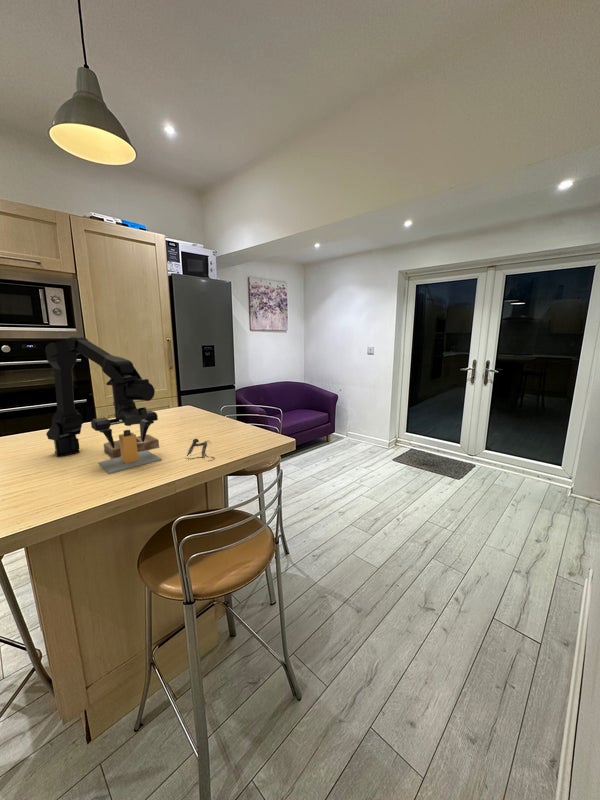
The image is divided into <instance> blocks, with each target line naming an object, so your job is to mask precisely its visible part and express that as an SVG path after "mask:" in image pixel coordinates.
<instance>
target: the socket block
mask: <svg viewBox="0 0 600 800" xmlns="http://www.w3.org/2000/svg"><path fill="white" fill-rule="evenodd" d="M113 441H114V448H112V447H111V445H110V443H109V442H105V443H103V448H104V449H103V450H104V452H105V453H106V454H107V453H108V454H109V455H108V454H107V455H108V456H110V457H111V459H114V458H115V457H116V458H118V457H119V456H120V457H121V450H120V442H119V439H118V440H113ZM136 441H137V451H138V453H139V452H140V451H141V452H143V451H144V450H145V451H147V450H148V451H149V450H152V449H153V448H154V449H157V447H158V448H160V441H159V439H158V438H156V437H154V436H152V435H150V434H147V433H146V436H145V440H144V442H142V440H141V435H139V436H136Z"/></svg>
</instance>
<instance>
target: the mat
mask: <svg viewBox="0 0 600 800" xmlns="http://www.w3.org/2000/svg"><path fill="white" fill-rule="evenodd" d="M159 461H162V458H161V457H159V456H158V455H156V454H155V453H153V452H151V451H149V450H145V451H141V452H138V461H134V462H131V463H127V464H125V463H124V462H123V461H122V459H121V456H120V457H116V458H110V459H105V460H102V461H98V463H97V464H98V465H99V466H101V468H102V469H104V470H105V472H107V474H108V475H111V473H112V474H115V473H119V472H122V470H123V471H127V470H130V469H134V468H137V466H138V467H141V465H142V466H146V465H148V463H149V464H152V462H153V463H156V462H159ZM133 467H134V468H133ZM126 469H127V470H126Z"/></svg>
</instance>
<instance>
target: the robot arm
mask: <svg viewBox="0 0 600 800" xmlns="http://www.w3.org/2000/svg"><path fill="white" fill-rule="evenodd" d="M44 351H45V357H46V360H47V362H48V364H49V365H50V366H51V368H53V374H54V383H55V384H54V385H55V386H54V388H55V398H56V411H55V413H53V416H52V418H51V425H50V428H48V430H47V432H46V433H45V435H46V437H47V439H48V440H50V441H51V440H52V441H53V444H54V454H55V455H56V457H58V458H59V457H64V456H68V455H69V456H70V455H72V454H78V453H80V441H79V438H78V437H77V435H80V434H81V431H82V426H83V424H84V422H83V414H82V413H79V412H78V411H77V410H76V409H75V408H76V407H75V399H74V398H75V397H74V382H73V381H74V380H73V368H74V366H75V365H76V363H77V361H78V360H77V359H78V355H80V354H81V355H82V356H84V357H85V358H87V359H88V360H90V361H92V363H94V364H97V365H98V366H99V367H100V368H101V370H102V372H103V373H104V374H105V375H106V376H107V377H108V378H109V380H108V381H107V382H106V386H111V390H112V399H113V401H112V404H113V407H114V418H111V419H108V418H107V417H99V418H93V419H92V420H91V421H90V425H91V429H93V430H94V431H96V432H100V433H101V434H103V435H104V437H105V438H106V439H107V441H108V443H110V445H111V447H112V448H114V441H115V440H114V437H113V429H111V426H115V425H119V424H124V426H126V427H130V426H133V425H139V432H140V434H139V435H140V436H141V440H142V442H144V440H145V436H146V435H147V433H148V429H149V428H150V426H151V425H152V424H154V423H155V421H158V420H159V418H158V413H156V412H155V411H153V410H147V408H146V407H145V406H144V407H139V408H138V407H137V406H136V402H135V401H146V402H150V401H152V400H153V398H154V397H155V392H156V391H155V388H154V385H153V384H152V383H150V381H149V379H148V378H144V379H143V378H142V377H141V374H140V373H139V372H138V370H137V369H136V368H135V366H134V363H133V362H132V361H131V360H129V359H126V358H125V357H124V358H123V357H120V356H116V355H113V354H110V353H109V352H107V351H106V350H104V349H103V348H101V347H99V346H97V345H96V344H94V343H93V342H92V341H90V340H88V338H87V337H84V336H71V337H69V338H67V339H63V340H59V341H55V342H49V343H48V344H47V345H46V346H45V349H44Z"/></svg>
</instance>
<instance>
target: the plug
mask: <svg viewBox="0 0 600 800" xmlns="http://www.w3.org/2000/svg"><path fill="white" fill-rule="evenodd" d="M136 437H137V435H136V434H135V433H133V432H131V429H125V430H123V434H118V438H119V439H118V440H119V442H120V450H121V456H120V457H121V459H122V461H123V462H124V463H125V464H127V463H131V462H134V461H138V453H139V452H138V451H137V441H136Z"/></svg>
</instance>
